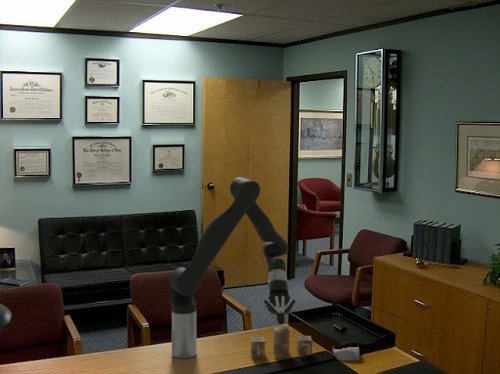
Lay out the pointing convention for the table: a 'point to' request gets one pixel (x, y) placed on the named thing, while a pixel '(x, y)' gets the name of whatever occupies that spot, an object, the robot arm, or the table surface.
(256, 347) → the block one
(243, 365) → the table surface
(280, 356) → the plain pillar
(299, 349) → the block seven
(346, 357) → the stone block
